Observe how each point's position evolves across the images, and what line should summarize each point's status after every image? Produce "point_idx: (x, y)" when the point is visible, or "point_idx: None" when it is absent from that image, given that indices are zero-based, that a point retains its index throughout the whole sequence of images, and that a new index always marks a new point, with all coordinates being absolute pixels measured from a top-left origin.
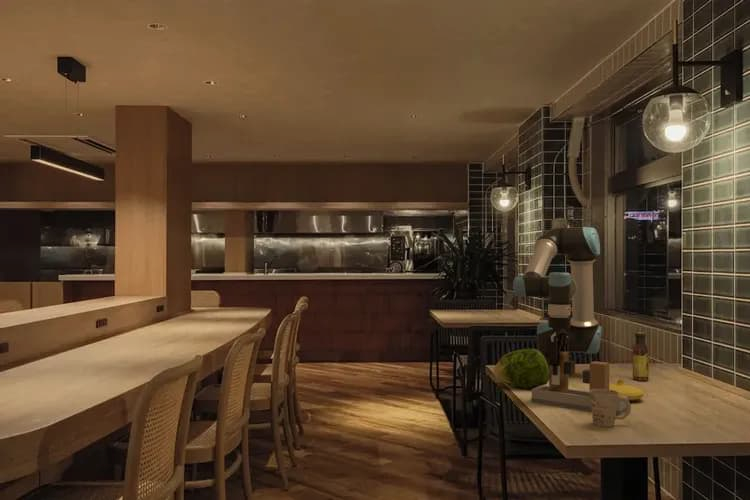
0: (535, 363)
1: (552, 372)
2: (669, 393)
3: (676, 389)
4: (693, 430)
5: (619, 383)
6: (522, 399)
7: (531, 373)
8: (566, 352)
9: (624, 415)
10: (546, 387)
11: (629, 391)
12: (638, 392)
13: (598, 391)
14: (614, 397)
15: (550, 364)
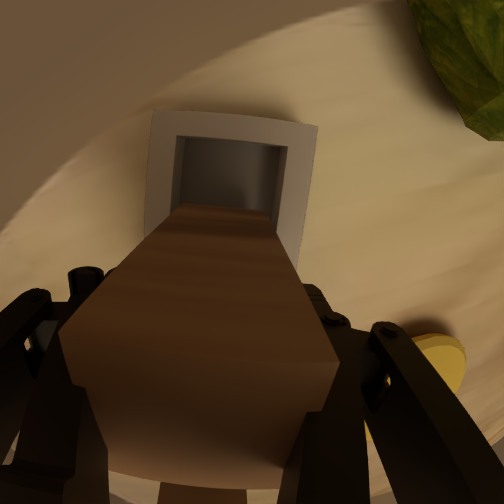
0: (500, 62)
1: (106, 274)
2: (470, 413)
3: (499, 403)
4: (152, 488)
5: None
6: (207, 65)
7: (449, 50)
8: (209, 487)
9: None
10: (285, 159)
11: (367, 432)
12: (372, 440)
13: None
14: None
15: (77, 284)
